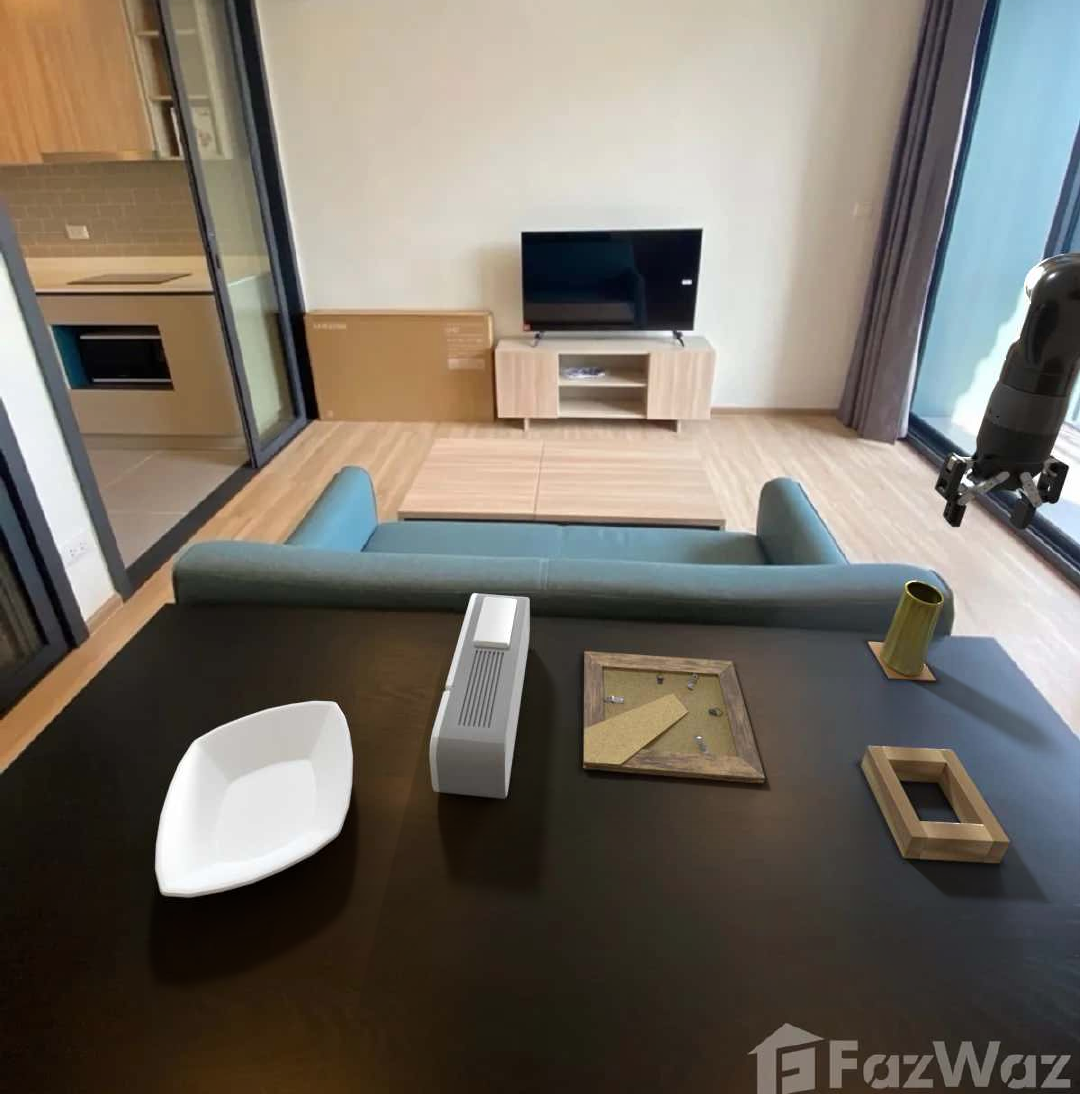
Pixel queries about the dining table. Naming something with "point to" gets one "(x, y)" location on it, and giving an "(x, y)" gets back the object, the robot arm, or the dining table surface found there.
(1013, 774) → the dining table surface
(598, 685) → the picture frame
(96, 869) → the dining table surface
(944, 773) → the holder
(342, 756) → the bowl
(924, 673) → the coaster
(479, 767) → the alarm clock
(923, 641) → the vase
